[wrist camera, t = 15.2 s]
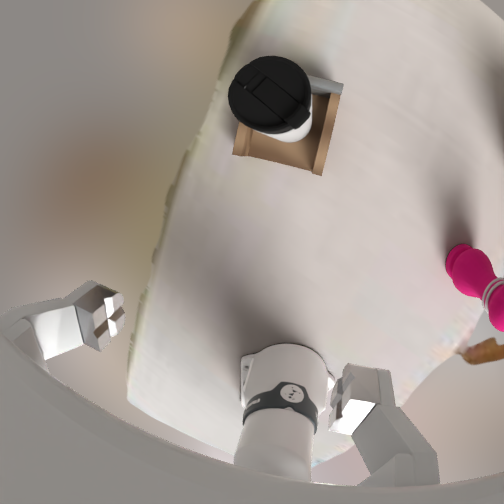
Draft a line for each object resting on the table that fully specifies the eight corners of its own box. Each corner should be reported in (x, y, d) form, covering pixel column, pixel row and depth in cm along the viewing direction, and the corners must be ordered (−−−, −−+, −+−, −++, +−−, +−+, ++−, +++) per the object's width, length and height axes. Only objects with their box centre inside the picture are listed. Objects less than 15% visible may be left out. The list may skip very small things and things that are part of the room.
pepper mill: (435, 267, 39) (492, 337, 21) (459, 232, 37) (531, 285, 18) (459, 288, 39) (514, 358, 21) (482, 255, 37) (549, 313, 18)
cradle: (321, 173, 39) (323, 177, 33) (240, 153, 40) (227, 154, 34) (340, 95, 34) (345, 84, 28) (257, 77, 36) (247, 64, 29)
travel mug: (292, 153, 38) (273, 153, 19) (257, 122, 37) (206, 96, 18) (323, 122, 35) (334, 92, 17) (287, 90, 35) (264, 37, 16)
